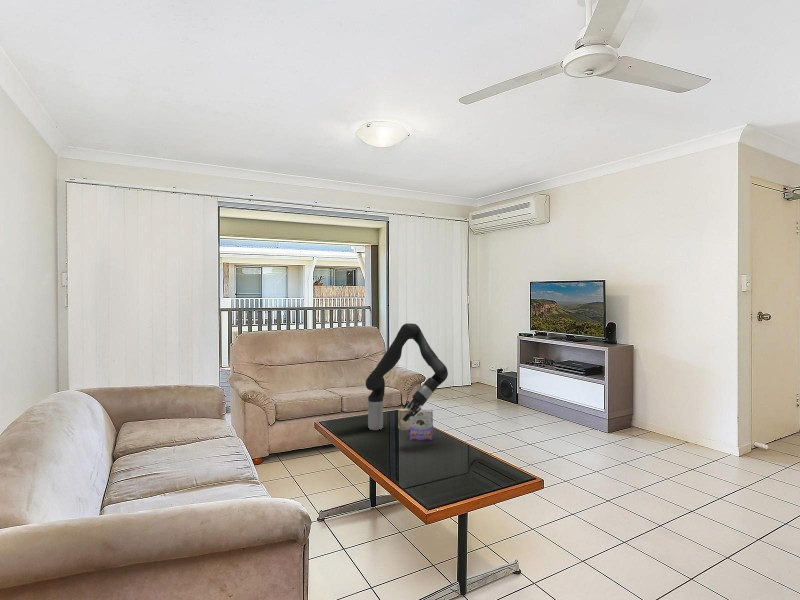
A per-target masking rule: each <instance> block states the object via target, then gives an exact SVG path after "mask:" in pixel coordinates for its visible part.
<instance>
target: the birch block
mask: <svg viewBox="0 0 800 600" xmlns="http://www.w3.org/2000/svg"><path fill="white" fill-rule="evenodd" d="M408 412H409V410H408V409H403V408H401V409H398V416H397V417H398V420H397V421H398V426H397V427H398V429H399V430H401V431H407V430H408V431H409V429H410V418H409V419H408V420H407V421H406V422H405V421H404V420H403V418H404V417H405V416H406V414H408Z"/></svg>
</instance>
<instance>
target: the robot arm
mask: <svg viewBox="0 0 800 600" xmlns="http://www.w3.org/2000/svg"><path fill="white" fill-rule="evenodd" d="M408 340H413V341H415V343H416V344H417V346H418V348H419V352H420V355H421V357H422V359H423V361H425V363H426V364H427V366H429V367H430V368H431V370H432V371H433V372H434V374H433V375H432V376H431V377H428V378H427V379H426V381H424V383H423V384H422V385H420V387H419V388H417V390H416V391H415V393H414V394H413V395H412V397H411V398H412V400H410V401H409V400H407V401H406V403H404V405H403V407H402V409H408V410H409V412H408V414H406V416H405V417H404V418H403V420H404V421H405V422H406V421H407V420H408V419H409V418H410V417H411V416H415V415H416V414H417V413H418V412H419V411H420V410H421V409H422V408H421V407H423V406H424V405H425V404H426V402H427V401H428V400H429V399H430V398H431V396H432V394H433V393H434V392H435V391H436V390H437V388H438V387H439V386H441V384H443V383H444V382H445V381H446V380H447V378H448V377H449V373H448V372H449V371H448V368H447V366H446V365H445V364H444V363H443V362H442V360H441V359H439V357H438V356H437V354H436V353H435V352H434V350H433V349H432V348H431V346H430V345H429V342H428V341H427V339H426V337H425V335H424V334H423V331H422V329H421V328H420V326H419V325H418V324H416V323H411V322H410V323H404V324H403V325H401V327H400V329H399V330H398V331H397V334H396V336H395V338H394V339H393V341H392V343H391V344H390V346H389V347H388V349H387V350H386V351H385V353H384V354H383V356H382V357H381V359H380V361H379V362H378V363H377V365H376V367H375V368H374V369H373V371H372V372H371V373H370V374H369V375H368V376H367V378H366V380H365V388H366V389H367V390H369V391H371V393H370V394H369V395H368V399H367V403H368V404H367V405H368V407H367V409H368V411H367V416H368V417H367V427H368V428H369V430H371V431H380V430H383V429H384V397H385V391H386V390H385V388H386V385H385V384H386V381H385V377H384V376H385V375H386V374H388V373H389V372H390V371H391V370H392V369H393V368H394V367H395V366H396V365H397V364H398V362H399V360H401V357H402V351H403V349H404V348H403V347H404V345H405V344H406V343H407V342H408ZM413 413H414V414H413ZM382 428H383V429H382ZM379 429H380V430H379Z"/></svg>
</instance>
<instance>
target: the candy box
mask: <svg viewBox="0 0 800 600" xmlns="http://www.w3.org/2000/svg"><path fill="white" fill-rule="evenodd" d="M413 414H414V413H413ZM433 417H434V415H433V409H422V408H421V410H420V411H419V412H418V413H417V414H416V415H415V416H411V417H410V429H408V440H409V441H413V440H414V441H417V440H418V441H433V438H434V419H433Z"/></svg>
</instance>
